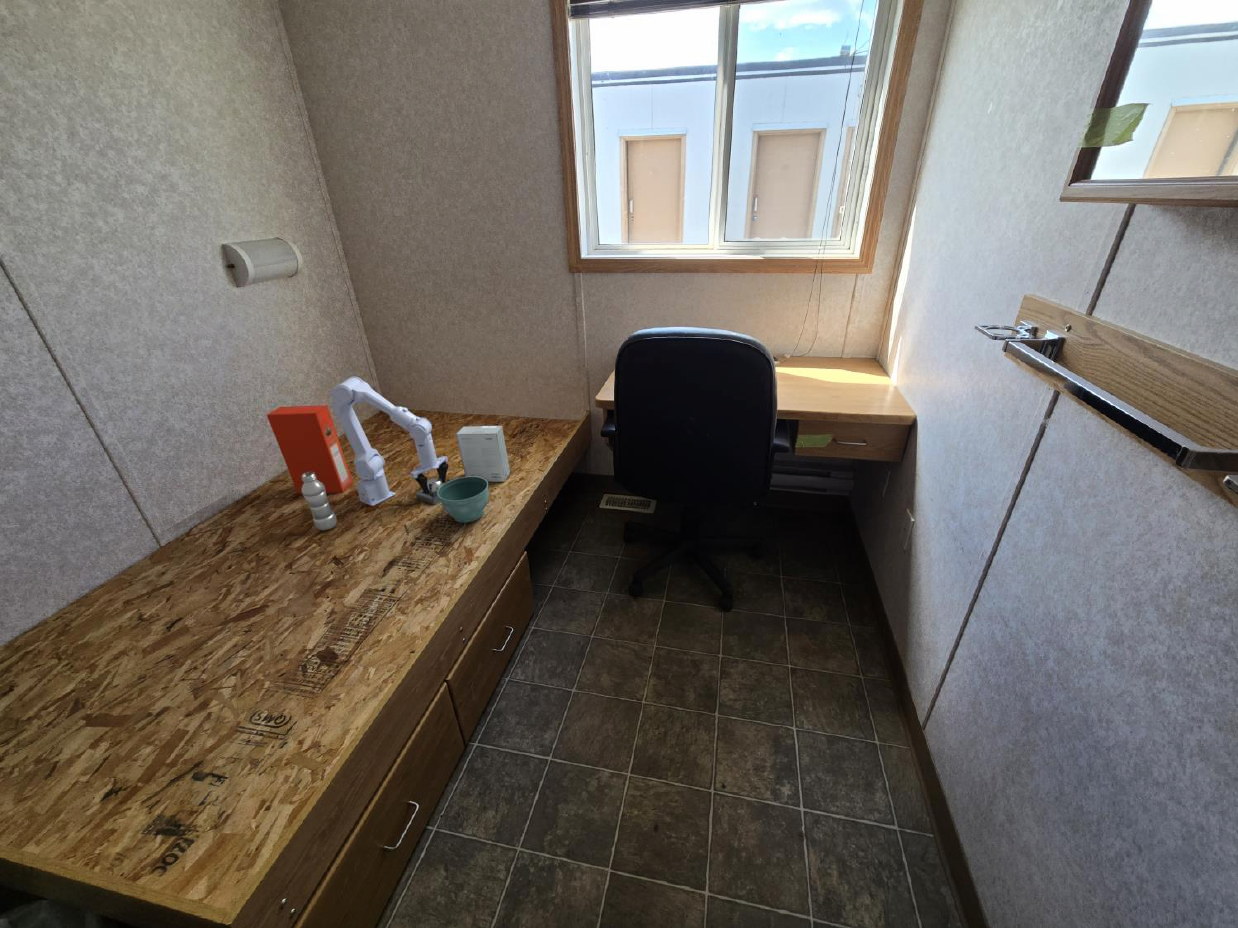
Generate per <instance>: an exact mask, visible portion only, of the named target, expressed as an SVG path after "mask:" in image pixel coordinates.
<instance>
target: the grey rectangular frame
mask: <svg viewBox="0 0 1238 928" xmlns="http://www.w3.org/2000/svg"><path fill="white" fill-rule="evenodd" d="M444 484H445V483H442V485H444ZM414 494H415V498H416V499H417V500H420V501H423V502H426V503H428V504H431V505H433V506H436V505H438V504H439V503H441V501H440V499H439V497H438V495H437V496H436V497H432V496H430V494H429V492H428V493H426V492H423V490H422V489H421V490H419V491H417V492H415V493H414Z"/></svg>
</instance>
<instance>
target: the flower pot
mask: <svg viewBox="0 0 1238 928" xmlns="http://www.w3.org/2000/svg"><path fill="white" fill-rule="evenodd" d="M437 494H438V497H439V499H440V501H441V502H440V504H441V506H442V507H443V509H444V510H445V511H446V513H447V514H448V515H449V516H451V517H452V518H454V520H455V521H456V522H458V523H461V524H467V523H471V522H474V521H477V520H479V519H480V518H481V517H482V516H483V514H484V510H485V508H486V507H487V503H488V500H489V482H487V481H486V480H485V479H483V478H481V477H475V476H469V477H465V476H462V477H458V478H454V479H452V480H450V481H446V483H444V485H442V486H441V487H440V488H439V490H438V492H437Z"/></svg>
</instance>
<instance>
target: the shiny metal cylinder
mask: <svg viewBox="0 0 1238 928" xmlns="http://www.w3.org/2000/svg"><path fill="white" fill-rule="evenodd" d="M427 485H428V489H429V494H428V495H430V496H432V497H436V496H437V495H438V494H437V492H438V490H439V488H440V487H441V486H442V481H441V479H440V478H439V477H433V478H430V479H427Z"/></svg>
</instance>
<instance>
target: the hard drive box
mask: <svg viewBox="0 0 1238 928" xmlns="http://www.w3.org/2000/svg"><path fill="white" fill-rule="evenodd" d="M455 435H456V439H457V443H458V444H457V445H458V449H459V453H460V458H461V463H462V467H463V471H464V477H469V476H475V477H481V478H483V479H485V480H486V481H487V482H488V483H489V482H492V483H496V482H497V483H498V482H499V483H500V482H503V483H504V482H506V481H507V478H508V477H509V475H510V474H511V470H510V465H509V458H508V454H507V453H508V452H507V448H506V442H505V436H504V431H503V426H502V425H479V426H473V425H472V426H463V427H462V428H461V429H459V430H458V432H457V433H456V434H455Z"/></svg>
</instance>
